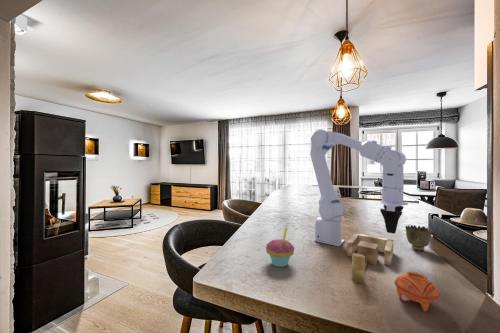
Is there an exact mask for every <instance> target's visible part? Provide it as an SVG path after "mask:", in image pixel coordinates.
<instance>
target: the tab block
mask: <svg viewBox="0 0 500 333" xmlns="http://www.w3.org/2000/svg"><path fill="white" fill-rule="evenodd" d="M356 251H357V253H356V252H355V253H354V254H352V257H351V280H352V282H354V283H355V284H360V285H362V284H363V285H364V284H365V283H366V278H365V277H366V267H367V265H371V264H372V266H375V265H376V266H377V262H378V259H379V256H378V255H379V251H378V244H374V243H369V242H364V241H360V242H359V244H358V247H357V250H356ZM367 263H368V264H367Z"/></svg>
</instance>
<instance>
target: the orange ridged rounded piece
mask: <svg viewBox="0 0 500 333" xmlns="http://www.w3.org/2000/svg"><path fill="white" fill-rule="evenodd" d="M394 285H395V286H396V292H397V296H398V298H399V299H402V297H403V296H404V297H405V298H407V299H408V300H411V301H412V302H415V303H419V304H420V306H421V309H422V311H423V312H424V313H425V312H428V310H429V306H430V303H433V302H436V301H437V300H439V299H440V297H441V291H440V290H439V289H438V287H437V286H436V285H435V284H434V283H433V282H432V281H430V280H429V279H428V277H426V276H425V275H424V274H421V273H418V272H412V271H407V272H406V273H404V274H401V275H398V276H397V277H396V278H395V280H394Z"/></svg>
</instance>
